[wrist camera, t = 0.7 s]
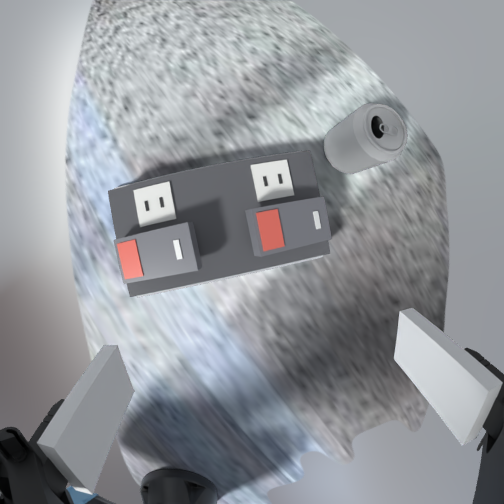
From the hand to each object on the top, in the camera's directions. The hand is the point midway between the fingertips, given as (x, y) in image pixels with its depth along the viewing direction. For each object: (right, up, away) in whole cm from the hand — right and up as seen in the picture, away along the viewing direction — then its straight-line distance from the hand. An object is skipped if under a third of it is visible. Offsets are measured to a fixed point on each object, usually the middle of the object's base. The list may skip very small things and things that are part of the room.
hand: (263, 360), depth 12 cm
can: (+13, +20, +28) cm, 37 cm away
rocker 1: (-11, +5, +19) cm, 23 cm away
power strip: (-5, +9, +26) cm, 28 cm away
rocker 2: (+3, +8, +21) cm, 23 cm away
